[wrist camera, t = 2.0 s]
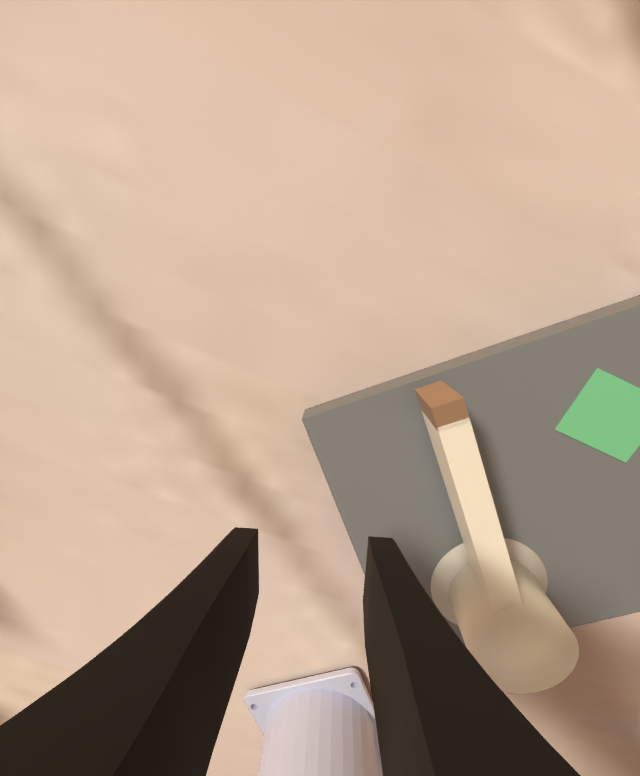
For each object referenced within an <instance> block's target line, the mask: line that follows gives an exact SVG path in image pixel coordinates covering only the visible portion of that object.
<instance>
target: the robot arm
mask: <svg viewBox="0 0 640 776" xmlns="http://www.w3.org/2000/svg"><path fill="white" fill-rule="evenodd" d="M258 594H259V566H258V529H251V528H236V527H235V528H234V529H233V530H232V531H231V532H230V533H229V534H228V535H227V536H226V537H225V538H224V539H223V540H222V541H221V542H220V543H219V544H218V545H217V546H216V547H215V549H214V550H213V551H212V552H211V553H210V554H209V555H208V556H207V557H206V558H205V559H204V560H203V561H202V562H201V563H200V564H199V565H198V566H197V567H196V568H195V569H194V570H193V571H192V572H191V573H190V574H189V575H188V576H187V577H186V578H185V579H184V580H183V581H182V582H181V583H180V584H179V585H178V586H177V587H176V588H175V589H174V590H173V591H171V592H170V593H169V594H168V595H167V596H166V597H165V598H164V599H163V600H162V601H161V602H159V603H158V604H157V605H156V606H155V607H154V608H153V609H152V610H151V611H149V612H148V613H147V614H146V615H145V616H144V617H143V618H142V619H141V620H139V621H138V622H137V623H136V624H135V625H134V626H132V627H131V628H130V629H129V630H128V631H127V632H125V633H124V634H123V635H122V636H121V637H119V638H118V639H117V640H116V641H115V642H113V643H112V644H111V645H110V646H108V647H107V648H106V649H105V650H103V651H102V652H101V653H100V654H98V655H97V656H96V657H95V658H93V659H92V660H91V661H89V662H88V663H87V664H86V665H84V666H83V667H82V668H80V669H79V670H78V671H76V672H75V673H74V674H72V675H71V676H70V677H68V678H67V679H66V680H64V681H63V682H61V683H60V684H59V685H57V686H56V687H54V688H53V689H52V690H50V691H49V692H47V693H46V694H45V695H43V696H42V697H40V698H39V699H38V700H36V701H35V702H33V703H32V704H31V705H29V706H28V707H26V708H25V709H24V710H22V711H21V712H19V713H18V714H17V715H15V716H14V717H12V718H11V719H9V720H8V721H6V722H5V723H4V724H2V725H1V726H0V776H206V773H207V770H208V766H209V763H210V759H211V756H212V752H213V749H214V746H215V743H216V740H217V737H218V733H219V730H220V727H221V724H222V721H223V718H224V715H225V712H226V709H227V705H228V702H229V699H230V696H231V693H232V690H233V687H234V684H235V681H236V677H237V674H238V671H239V668H240V665H241V662H242V659H243V655H244V652H245V649H246V646H247V643H248V639H249V636H250V632H251V627H252V623H253V618H254V614H255V609H256V604H257V599H258ZM363 611H364V633H365V648H366V656H367V663H368V670H369V678H370V685H371V692H372V699H373V702H372V699H371V697H370V695H369V693H368V690H367V688H366V686H365V684H364V681H363V679H362V677H361V675H360V672H359V671H358V670H357V669H356V668H353V667H351V668H346V669H341V670H337V671H332V672H328V673H323V674H319V675H315V676H310V677H306V678H301V679H297V680H292V681H288V682H284V683H279V684H275V685H270V686H266V687H262V688H257V689H253V690H249V691H247V692H246V694H245V699H244V702H245V704H246V706H247V707H248V709H249V711H250V713H251V715H252V716H253V718H254V720H255V722H256V723H257V725H258V727H259V729H260V731H261V732H262V734H263V736H264V738H263V743H262V749H261V755H260V761H259V766H258V772H257V776H580V775H579V774H578V773H577V772H576V771H575V770H574V769H573V768H572V766H571V765H570V764H569V763H568V762H567V761H566V760H565V759H564V758H563V757H562V756H561V755H560V754H559V753H558V752H557V751H556V750H555V749H554V748H553V747H552V746H551V745H550V744H549V743H548V742H547V741H546V740H545V739H544V738H543V736H542V735H541V734H540V733H539V732H538V731H537V730H536V729H535V728H534V727H533V725H532V724H531V723H530V722H529V721H528V720H527V719H526V718H525V717H524V715H523V714H522V713H521V712H520V711H519V710H518V709H517V708H516V707H515V705H514V704H513V703H512V702H511V701H510V700H509V698H508V697H507V696H506V695H505V694H504V693H503V691H502V690H501V689H500V688H499V687H498V686H497V685H496V683H495V682H494V681H493V680H492V679H491V677H490V676H489V675H488V674H487V673H486V671H485V670H484V669H483V668H482V666H481V665H480V664H479V663H478V661H477V660H476V659H475V658H474V656H473V655H472V654H471V653H470V651H469V650H468V649H467V647H466V646H465V645H464V644H463V642H462V641H461V640H460V638H459V637H458V636H457V634H456V633H455V632H454V630H453V629H452V628H451V626H450V625H449V624H448V622H447V621H446V619H445V618H444V617H443V615H442V614H441V612H440V611H439V610H438V608H437V607H436V605H435V604H434V602H433V601H432V599H431V598H430V597H429V595H428V594H427V592H426V591H425V589H424V588H423V586H422V585H421V583H420V582H419V580H418V578H417V577H416V575H415V574H414V572H413V571H412V569H411V567H410V566H409V564H408V562H407V561H406V559H405V557H404V556H403V554H402V552H401V550H400V549H399V547H398V545H397V543H396V542H395V541H394V539H393V538H387V537H372V536H368V546H367V558H366V571H365V583H364V595H363Z"/></svg>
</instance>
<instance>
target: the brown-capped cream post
mask: <svg viewBox="0 0 640 776" xmlns="http://www.w3.org/2000/svg"><path fill="white" fill-rule="evenodd" d="M415 392H416V395H417V398H418V401H419V404H420V408H421V411H422V414H423V417H424V420H425V423H426V426H427V430H428V433H429V436H430V439H431V442H432V445H433V448H434V452H435V455H436V458H437V461H438V464H439V467H440V470H441V474H442V477H443V480H444V483H445V486H446V489H447V492H448V496H449V499H450V502H451V505H452V508H453V511H454V514H455V518H456V521H457V524H458V527H459V530H460V533H461V536H462V540H463V543H464V546H465V549H466V552H467V555H468V558H469V562H470V564H468V565H466V566H465V567H463V568H462V569H461V570H460V571H459V572H458V573H457V574H456V575H455V576H454V578H453V580H452V582H451V584H450V587H449V601H450V604H451V607H452V610H453V613H454V615H455V618H456V621H457V623H458V626H459V629H460V632H461V634H462V637H463V640H464V642H465V645H466V647H467V649H468V650H469V651H470V653H471V654H472V655H473V656H474V658H475V659H476V660H477V661H478V663H479V664H480V665H481V666H482V668H483V669H484V670H485V671H486V673H487V674H488V675H489V676H490V677H491V679H492V680H493V681H494V682H495V683H496V685H497V686H498V687H499V688H500V689H501V690H502V691H503V692H507V693H513V694H531V693H537V692H541V691H544V690H547V689H549V688H552V687H554V686H556V685H557V684H559V683H560V682H562V681H563V680H564V679H566V678H567V677H568V676H569V675H570V673H571V672H572V671H573V669H574V668H575V666H576V664H577V661H578V658H579V644H578V641H577V639H576V637H575V635H574V633H573V632H572V631H571V629H570V628H569V626H568V625H567V624H566V622H565V621H564V619H563V618H562V616H561V615H560V614H559V612H558V611H557V609H556V608H555V607H554V605H553V604H552V602H551V601H550V599H549V598H548V597H547V595H546V594H545V592H544V591H543V590H542V588H541V587H540V585H539V584H538V582H537V581H536V580H535V578H534V577H533V575H532V574H531V573H530V571H529V570H528V569H527V568H526V567H525V566H523V565H522V564H520V563H518V562H516V561H514V560H511V559H510V558H509V554H508V551H507V547H506V544H505V540H504V537H503V533H502V530H501V526H500V523H499V519H498V516H497V512H496V509H495V505H494V502H493V498H492V495H491V491H490V488H489V484H488V481H487V477H486V474H485V470H484V467H483V463H482V460H481V456H480V453H479V449H478V446H477V442H476V439H475V435H474V432H473V428H472V425H471V421H470V418H469V414H468V411H467V407H466V404H465V400H464V398H463V397H462V396H461V395H460V394H458V393H457V392H456V391H454V390H453V389H452V388H450V387H449V386H448V385H447V384H445V383H444V382H443V381H441V380H440V381H437V382H434V383H432V384H429V385H426V386H423V387H420V388H417V389H415Z"/></svg>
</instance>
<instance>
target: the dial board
mask: <svg viewBox="0 0 640 776" xmlns="http://www.w3.org/2000/svg"><path fill="white" fill-rule="evenodd" d="M440 380H441V381H443V382H444V383H445V384H447V385H448V386H449V387H450V388H452V389H453V390H454V391H456V392H457V393H458V394H460V395H461V396H462V397H463V398H464V400H465V404H466V407H467V411H468V414H469V418H470V421H471V425H472V428H473V432H474V435H475V439H476V442H477V446H478V449H479V453H480V456H481V460H482V463H483V467H484V470H485V474H486V477H487V481H488V484H489V488H490V491H491V495H492V498H493V502H494V505H495V509H496V512H497V516H498V519H499V523H500V526H501V530H502V533H503V537H504V540H505V544H506V547H507V551H508V554H509V558H510V559H511V560H514V561H516V562H518V563H520V564H522V565H523V566H525V567H526V568H527V569H528V570H529V571H530V573H531V574H532V575H533V577H534V578H535V580H536V581H537V582H538V584H539V585H540V587H541V588H542V590H543V591H544V592H545V594H546V595H547V597H548V598H549V599H550V601H551V602H552V604H553V605H554V607H555V608H556V609H557V611H558V612H559V614H560V615H561V616H562V618H563V619H564V621H565V622H566V624H567V625H568V626H569V627H574V626H578V625H583V624H587V623H592V622H596V621H601V620H605V619H610V618H614V617H619V616H623V615H628V614H632V613H637V612H640V295H639V296H636V297H633V298H630V299H627V300H624V301H621V302H618V303H615V304H613V305H610V306H607V307H604V308H601V309H598V310H595V311H592V312H589V313H586V314H583V315H580V316H577V317H575V318H572V319H569V320H566V321H563V322H560V323H557V324H554V325H551V326H548V327H545V328H542V329H539V330H537V331H534V332H531V333H528V334H525V335H522V336H519V337H516V338H513V339H510V340H507V341H504V342H501V343H499V344H496V345H493V346H490V347H487V348H484V349H481V350H478V351H475V352H472V353H469V354H466V355H463V356H461V357H458V358H455V359H452V360H449V361H446V362H443V363H440V364H437V365H434V366H431V367H428V368H425V369H423V370H420V371H417V372H414V373H411V374H408V375H405V376H402V377H399V378H396V379H393V380H390V381H387V382H385V383H382V384H379V385H376V386H373V387H370V388H367V389H364V390H361V391H358V392H355V393H352V394H349V395H347V396H344V397H341V398H338V399H335V400H332V401H329V402H326V403H323V404H320V405H317V406H314V407H311V408H309V409H306V410H305V411H304V414H303V417H302V421H303V423H304V426H305V428H306V431H307V433H308V436H309V438H310V441H311V443H312V446H313V448H314V451H315V453H316V456H317V458H318V460H319V463H320V465H321V468H322V470H323V473H324V475H325V478H326V480H327V483H328V485H329V488H330V490H331V493H332V495H333V498H334V500H335V502H336V505H337V507H338V510H339V512H340V515H341V517H342V520H343V522H344V525H345V527H346V530H347V532H348V535H349V537H350V540H351V542H352V544H353V547H354V549H355V552H356V554H357V557H358V559H359V562H360V564H361V567H362V569H363V572H364V574H365V571H366V558H367V546H368V536H372V537H387V538H393V539H394V541H395V542H396V543H397V545H398V547H399V549H400V550H401V552H402V554H403V556H404V557H405V559H406V561H407V562H408V564H409V566H410V567H411V569H412V571H413V572H414V574H415V575H416V577H417V578H418V580H419V582H420V583H421V585H422V586H423V588H424V589H425V591H426V592H427V594H428V595H429V597H430V598H431V599H432V601H433V602H434V604H435V605H436V607H437V608H438V610H439V611H440V612H441V614H442V615H443V617H444V618H445V619H446V621H447V622H448V624H449V625H450V626H451V628H452V629H453V630H454V632H455V633H456V634H457V636H458V637H459V638H460V640H461V641H462V642H463V644H464V645H465V642H464V640H463V637H462V634H461V632H460V629H459V626H458V623H457V621H456V618H455V615H454V613H453V610H452V607H451V604H450V601H449V587H450V584H451V582H452V580H453V578H454V576H455V575H456V574H457V573H458V572H459V571H460V570H461V569H462V568H463V567H465V566H466V565H468V564H470V562H469V558H468V555H467V552H466V549H465V546H464V543H463V540H462V536H461V533H460V530H459V527H458V524H457V521H456V518H455V514H454V511H453V508H452V505H451V502H450V499H449V496H448V492H447V489H446V486H445V483H444V480H443V477H442V474H441V470H440V467H439V464H438V461H437V458H436V455H435V452H434V448H433V445H432V442H431V439H430V436H429V433H428V430H427V426H426V423H425V420H424V417H423V414H422V411H421V408H420V404H419V401H418V398H417V395H416V392H415V389H417V388H420V387H423V386H426V385H429V384H432V383H434V382H437V381H440ZM465 646H466V645H465Z"/></svg>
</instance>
